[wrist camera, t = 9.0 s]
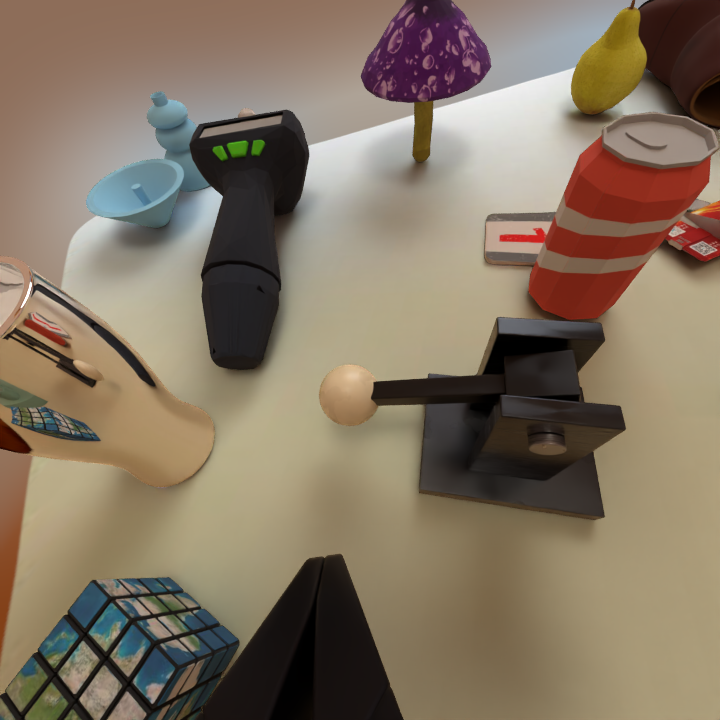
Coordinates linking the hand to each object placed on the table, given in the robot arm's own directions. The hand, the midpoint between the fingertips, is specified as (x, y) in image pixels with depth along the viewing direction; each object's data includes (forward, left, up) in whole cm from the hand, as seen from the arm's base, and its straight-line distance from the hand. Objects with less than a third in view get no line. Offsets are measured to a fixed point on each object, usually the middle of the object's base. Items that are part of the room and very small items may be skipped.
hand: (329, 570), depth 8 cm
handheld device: (+5, +27, -14) cm, 31 cm away
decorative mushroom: (+28, +32, -14) cm, 44 cm away
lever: (+8, +4, -9) cm, 13 cm away
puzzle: (-12, +3, -14) cm, 18 cm away
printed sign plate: (+24, +17, -13) cm, 32 cm away
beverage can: (+24, +7, -13) cm, 28 cm away
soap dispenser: (+1, +46, -14) cm, 48 cm away
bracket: (+11, +2, -13) cm, 17 cm away
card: (+38, +7, -13) cm, 41 cm away
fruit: (+49, +25, -13) cm, 57 cm away
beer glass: (-8, +15, -14) cm, 21 cm away
